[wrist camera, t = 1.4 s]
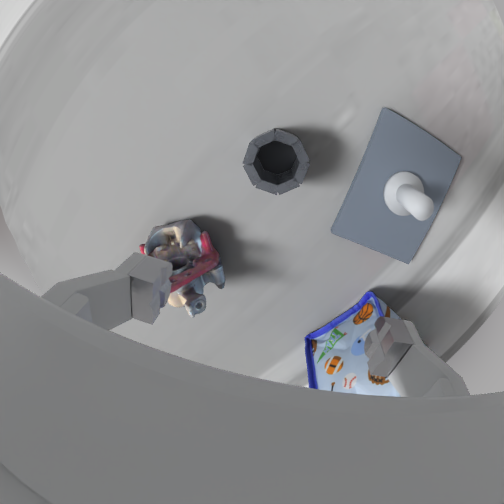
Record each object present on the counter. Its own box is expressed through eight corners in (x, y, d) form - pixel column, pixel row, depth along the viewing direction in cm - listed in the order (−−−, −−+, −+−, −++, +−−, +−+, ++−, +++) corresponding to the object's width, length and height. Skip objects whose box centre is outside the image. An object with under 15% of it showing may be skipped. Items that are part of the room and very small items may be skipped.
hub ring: (260, 122, 27) (256, 123, 22) (311, 141, 27) (317, 145, 23) (243, 171, 30) (236, 181, 25) (292, 188, 30) (294, 201, 26)
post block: (382, 107, 24) (406, 107, 18) (457, 155, 25) (487, 167, 19) (330, 229, 32) (340, 256, 26) (406, 260, 32) (424, 288, 27)
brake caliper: (205, 195, 29) (203, 305, 24) (235, 240, 39) (239, 325, 33) (123, 217, 31) (110, 312, 26) (166, 253, 41) (162, 330, 36)
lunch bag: (442, 339, 39) (488, 462, 15) (374, 385, 46) (392, 505, 22) (380, 272, 34) (452, 462, 10) (297, 339, 41) (294, 509, 17)
